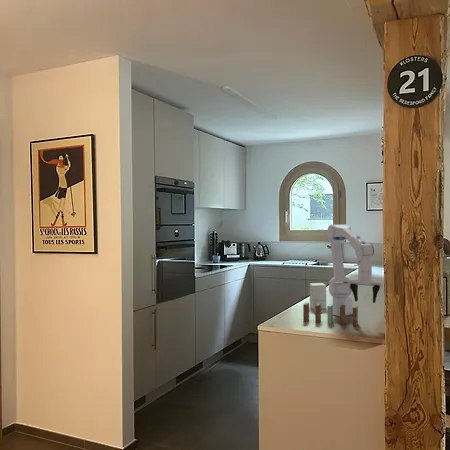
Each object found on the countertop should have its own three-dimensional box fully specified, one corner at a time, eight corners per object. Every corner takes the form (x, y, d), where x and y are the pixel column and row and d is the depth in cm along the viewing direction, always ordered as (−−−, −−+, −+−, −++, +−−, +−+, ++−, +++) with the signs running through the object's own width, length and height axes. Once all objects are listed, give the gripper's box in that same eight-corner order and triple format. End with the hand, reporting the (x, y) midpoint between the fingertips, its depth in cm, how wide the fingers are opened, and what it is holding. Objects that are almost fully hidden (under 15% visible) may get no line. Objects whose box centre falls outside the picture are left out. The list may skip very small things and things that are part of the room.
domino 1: (303, 321, 214) (303, 304, 214) (305, 319, 218) (305, 302, 218) (306, 322, 213) (306, 304, 213) (309, 319, 218) (309, 302, 218)
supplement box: (323, 306, 249) (323, 282, 248) (326, 309, 241) (326, 284, 241) (309, 306, 248) (309, 283, 248) (312, 309, 241) (312, 285, 241)
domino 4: (339, 324, 207) (339, 306, 207) (341, 322, 212) (341, 304, 212) (343, 325, 207) (343, 307, 207) (345, 322, 211) (345, 305, 211)
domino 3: (327, 323, 210) (327, 306, 209) (329, 321, 214) (329, 304, 214) (331, 324, 209) (330, 306, 209) (333, 321, 213) (332, 304, 213)
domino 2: (315, 322, 212) (315, 305, 212) (317, 320, 216) (317, 303, 216) (318, 323, 211) (318, 305, 211) (321, 320, 216) (320, 303, 215)
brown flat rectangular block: (352, 325, 205) (352, 307, 205) (354, 323, 210) (354, 305, 210) (356, 326, 205) (356, 307, 205) (357, 323, 209) (357, 305, 209)
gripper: (346, 271, 205) (346, 302, 205) (380, 272, 198) (380, 304, 198) (350, 269, 211) (350, 299, 211) (383, 270, 204) (383, 301, 204)
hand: (365, 301), depth 205 cm, fingers open, 7 cm apart
